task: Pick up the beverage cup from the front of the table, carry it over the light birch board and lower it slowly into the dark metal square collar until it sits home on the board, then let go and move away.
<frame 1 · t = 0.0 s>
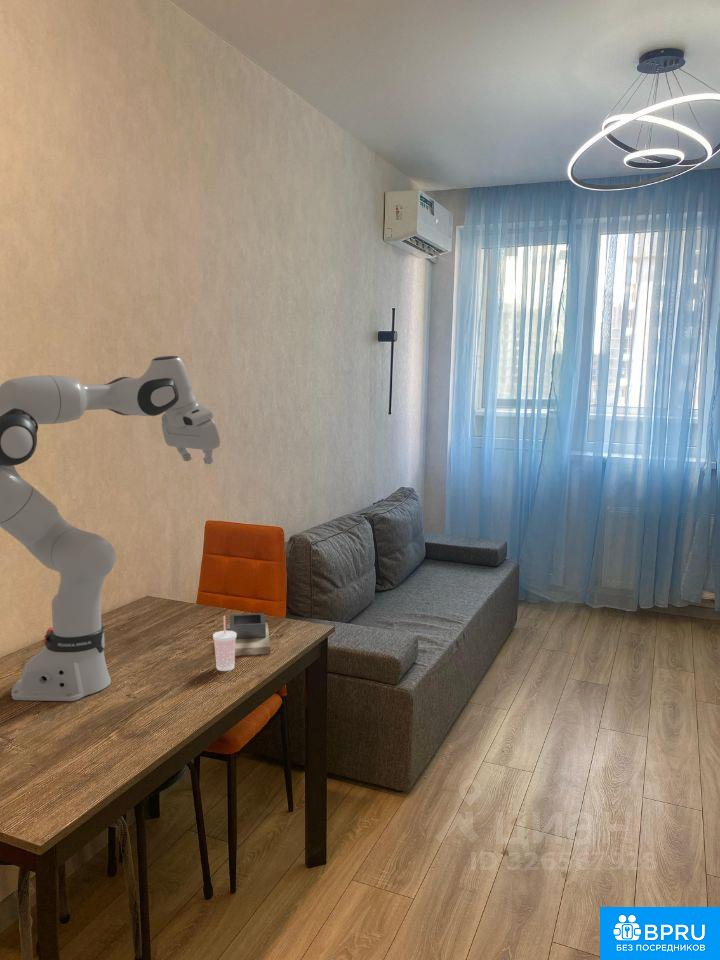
hand: (198, 461, 205), 52 cm above the table, fingers open, 8 cm apart
beverage cup: (225, 668, 195), on the table
cup collar: (247, 639, 216), resting on socket board
socket board: (247, 641, 214), on the table
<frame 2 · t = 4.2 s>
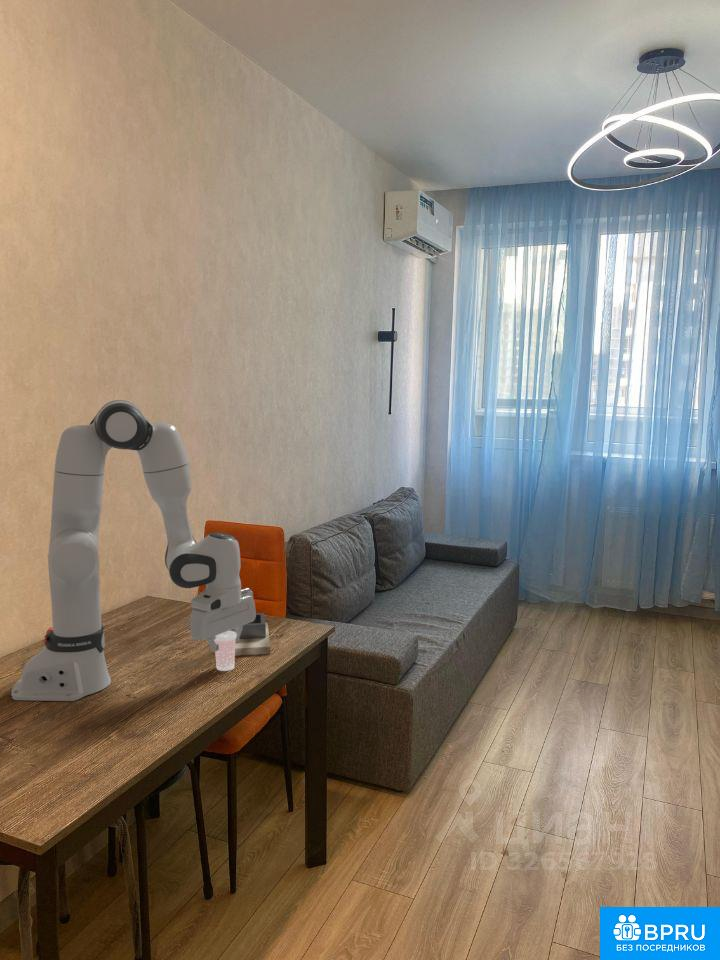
hand: (224, 646, 195), 6 cm above the table, fingers closed on beverage cup, 6 cm apart
beverage cup: (225, 668, 195), on the table, touching gripper
when the fingers open (8 cm above the table, at t = 10.7 s): beverage cup stays where it is, resting on socket board.
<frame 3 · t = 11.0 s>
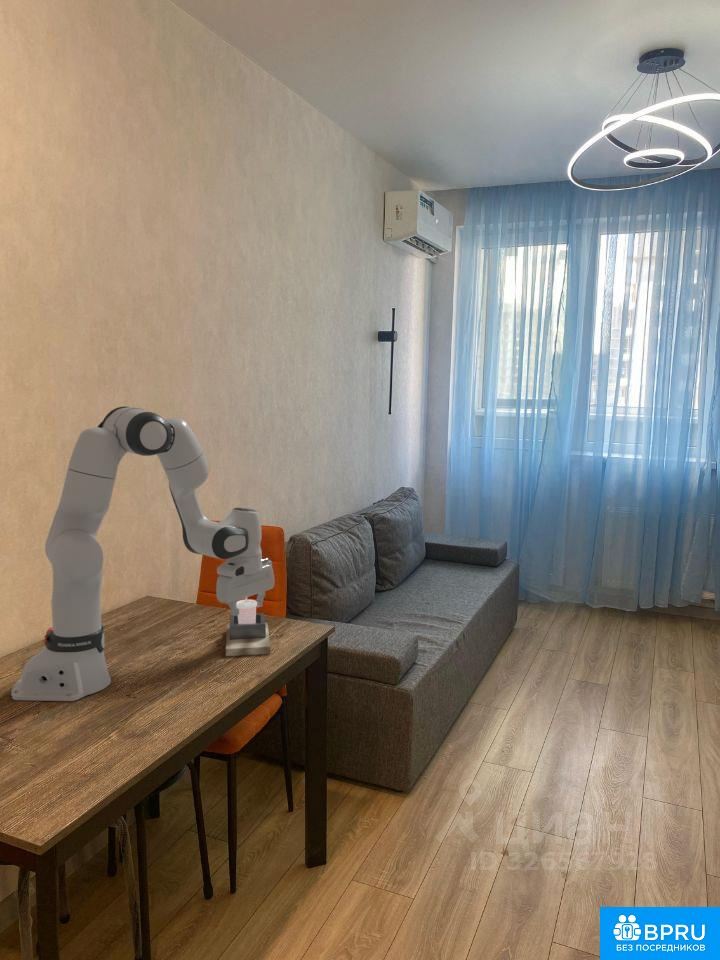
hand: (247, 610, 215), 9 cm above the table, fingers open, 8 cm apart
beverage cup: (247, 633, 216), point 2 cm above the table, touching socket board
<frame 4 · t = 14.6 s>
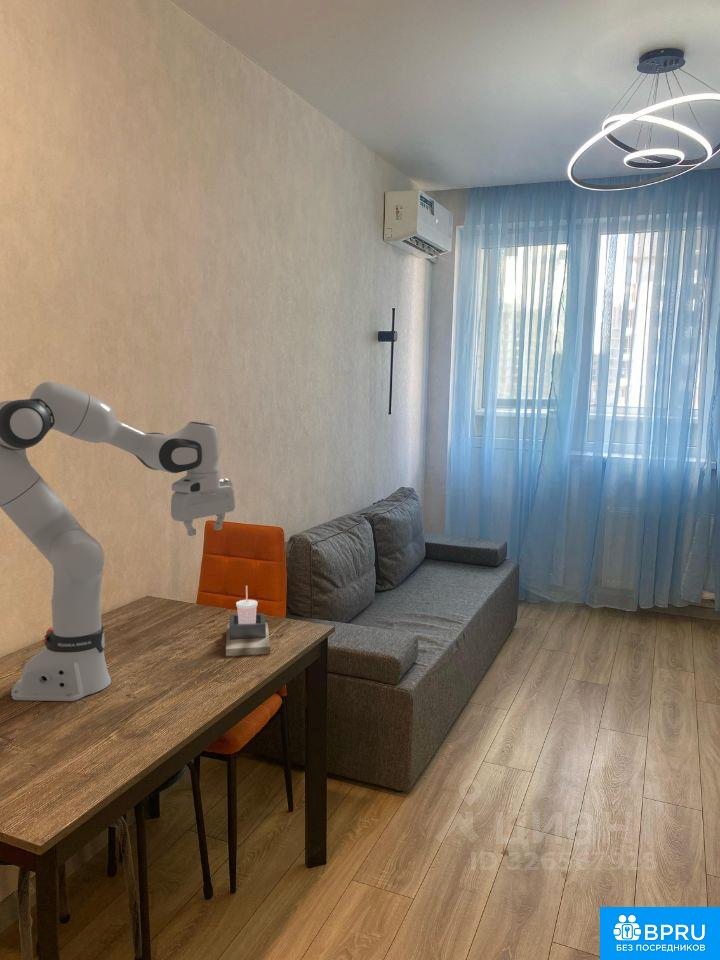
hand: (205, 532, 204), 33 cm above the table, fingers open, 8 cm apart
nothing on the table moved.
at the end: beverage cup 0.1 cm from the target spot on the socket board, point 1.8 cm above the socket board's base; beverage cup tilted 0°; the gripper is holding nothing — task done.
